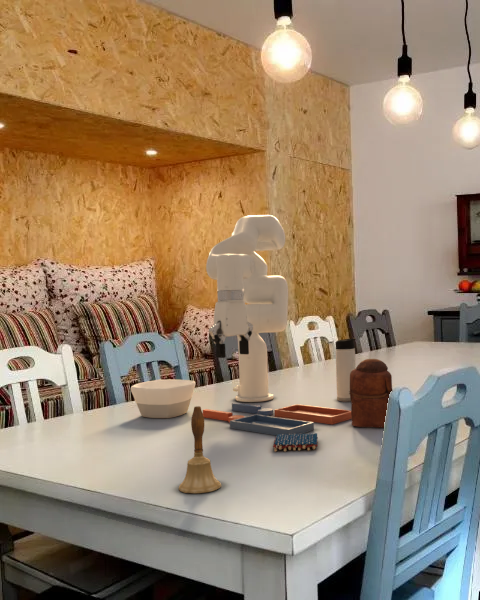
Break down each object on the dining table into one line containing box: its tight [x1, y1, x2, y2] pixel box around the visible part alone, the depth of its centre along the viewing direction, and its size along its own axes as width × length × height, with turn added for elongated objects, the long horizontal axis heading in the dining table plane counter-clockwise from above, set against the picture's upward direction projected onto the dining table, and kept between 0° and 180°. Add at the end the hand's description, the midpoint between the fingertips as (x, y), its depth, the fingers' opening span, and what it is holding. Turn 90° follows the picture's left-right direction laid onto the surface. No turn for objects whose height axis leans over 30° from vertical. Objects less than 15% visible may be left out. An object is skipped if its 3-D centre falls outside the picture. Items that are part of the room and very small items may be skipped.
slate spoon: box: [231, 402, 274, 416], centre depth 217 cm, size 16×5×2 cm, turn 50°
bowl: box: [130, 379, 196, 419], centre depth 219 cm, size 18×18×9 cm
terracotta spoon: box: [202, 408, 246, 424], centre depth 208 cm, size 16×5×2 cm, turn 50°
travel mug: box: [335, 337, 357, 403], centre depth 232 cm, size 6×7×20 cm
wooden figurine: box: [350, 358, 393, 429], centre depth 192 cm, size 12×6×18 cm, turn 75°
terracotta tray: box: [273, 403, 352, 425], centre depth 207 cm, size 21×10×2 cm, turn 50°
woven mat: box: [272, 432, 319, 452], centre depth 173 cm, size 10×11×2 cm
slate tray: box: [229, 413, 315, 437], centre depth 193 cm, size 21×10×2 cm, turn 50°
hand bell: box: [178, 405, 222, 494], centre depth 142 cm, size 8×8×16 cm
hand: (232, 355), depth 209 cm, fingers open, 9 cm apart
